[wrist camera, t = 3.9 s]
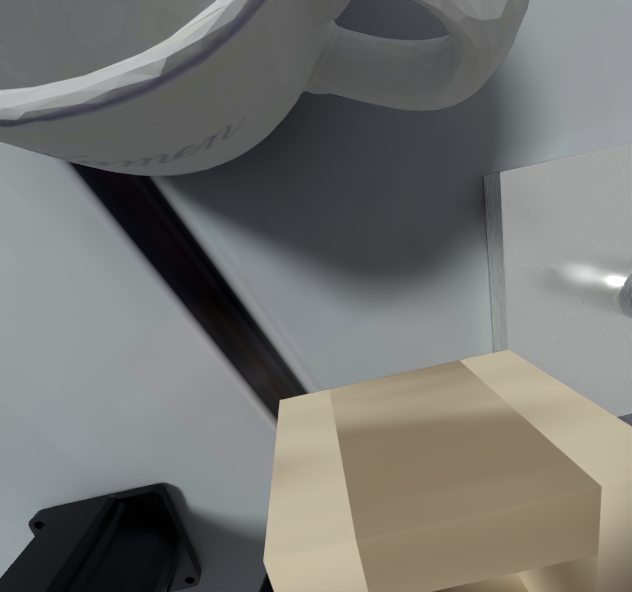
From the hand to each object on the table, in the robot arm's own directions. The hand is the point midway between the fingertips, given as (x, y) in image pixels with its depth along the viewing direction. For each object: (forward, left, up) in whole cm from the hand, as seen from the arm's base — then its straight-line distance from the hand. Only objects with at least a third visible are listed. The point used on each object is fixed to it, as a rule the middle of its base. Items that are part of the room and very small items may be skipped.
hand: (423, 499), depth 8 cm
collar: (0, 0, -1) cm, 1 cm away
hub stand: (+2, -12, -6) cm, 13 cm away
